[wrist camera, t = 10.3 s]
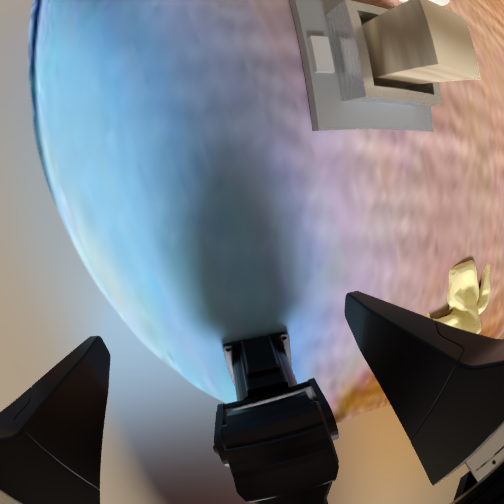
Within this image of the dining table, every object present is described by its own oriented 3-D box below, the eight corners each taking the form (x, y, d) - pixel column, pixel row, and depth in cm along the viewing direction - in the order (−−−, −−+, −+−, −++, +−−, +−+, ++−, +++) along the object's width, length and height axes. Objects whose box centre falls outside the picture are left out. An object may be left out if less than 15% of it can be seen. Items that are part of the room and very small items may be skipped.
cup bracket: (415, 106, 18) (442, 105, 15) (341, 101, 17) (366, 96, 14) (400, 30, 15) (424, 21, 12) (325, 16, 14) (344, -1, 11)
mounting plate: (424, 130, 20) (437, 131, 18) (312, 130, 19) (322, 130, 17) (404, 19, 15) (415, 15, 14) (289, -1, 14) (295, -10, 13)
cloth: (444, 363, 37) (462, 384, 32) (386, 360, 32) (407, 390, 27) (507, 258, 31) (531, 273, 25) (469, 215, 26) (504, 232, 20)
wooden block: (399, 87, 17) (481, 79, 9) (356, 82, 17) (438, 63, 9) (390, 41, 15) (465, 18, 7) (346, 34, 15) (418, -5, 7)
